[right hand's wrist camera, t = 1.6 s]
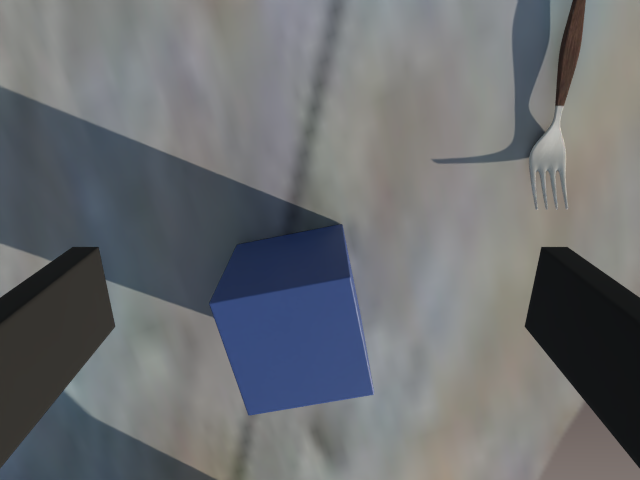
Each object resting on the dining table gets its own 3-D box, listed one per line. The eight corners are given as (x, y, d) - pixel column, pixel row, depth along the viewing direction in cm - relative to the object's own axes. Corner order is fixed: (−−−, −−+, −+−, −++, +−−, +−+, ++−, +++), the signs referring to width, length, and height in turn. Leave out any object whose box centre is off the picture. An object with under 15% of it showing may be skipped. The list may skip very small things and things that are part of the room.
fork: (606, -54, 25) (629, -64, 23) (555, 201, 31) (570, 209, 29) (562, -53, 25) (582, -63, 23) (520, 202, 31) (533, 210, 29)
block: (342, 223, 32) (350, 276, 24) (361, 318, 35) (374, 395, 27) (236, 244, 33) (208, 303, 24) (264, 336, 36) (248, 416, 27)
